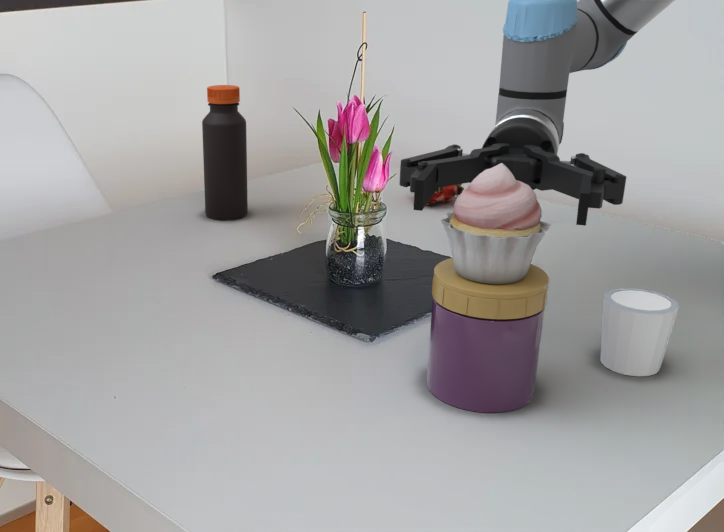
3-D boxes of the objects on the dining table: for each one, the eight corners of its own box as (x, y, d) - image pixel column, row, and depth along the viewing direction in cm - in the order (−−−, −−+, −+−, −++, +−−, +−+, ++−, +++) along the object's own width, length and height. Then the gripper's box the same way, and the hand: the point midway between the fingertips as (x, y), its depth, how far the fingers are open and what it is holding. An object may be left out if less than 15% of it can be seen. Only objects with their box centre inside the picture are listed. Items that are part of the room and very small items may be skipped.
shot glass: (670, 358, 86) (683, 294, 83) (661, 385, 80) (674, 318, 77) (600, 343, 89) (610, 282, 86) (587, 369, 83) (597, 304, 81)
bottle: (196, 215, 133) (191, 87, 126) (224, 206, 138) (220, 82, 131) (229, 223, 130) (225, 91, 122) (256, 213, 135) (254, 86, 127)
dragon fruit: (440, 199, 147) (436, 229, 137) (402, 171, 146) (396, 199, 136) (472, 164, 143) (471, 192, 133) (433, 134, 142) (429, 160, 132)
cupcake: (560, 270, 76) (575, 161, 72) (516, 300, 70) (530, 182, 66) (467, 249, 82) (476, 147, 78) (418, 275, 75) (425, 165, 71)
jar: (537, 372, 83) (551, 267, 79) (528, 421, 74) (543, 306, 70) (436, 357, 86) (444, 255, 82) (417, 401, 77) (424, 291, 73)
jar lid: (549, 285, 79) (552, 261, 78) (541, 326, 71) (545, 300, 70) (442, 273, 83) (444, 250, 82) (422, 310, 74) (424, 285, 73)
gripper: (640, 195, 87) (650, 260, 68) (403, 177, 95) (354, 230, 76) (652, 123, 84) (666, 169, 66) (406, 110, 92) (357, 148, 74)
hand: (498, 202), depth 71 cm, fingers open, 13 cm apart
